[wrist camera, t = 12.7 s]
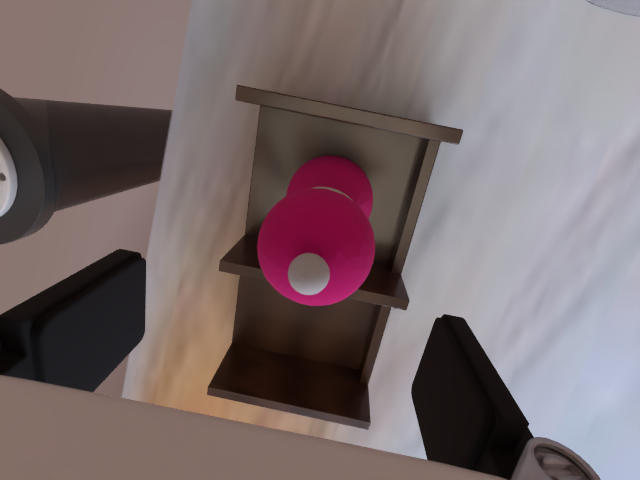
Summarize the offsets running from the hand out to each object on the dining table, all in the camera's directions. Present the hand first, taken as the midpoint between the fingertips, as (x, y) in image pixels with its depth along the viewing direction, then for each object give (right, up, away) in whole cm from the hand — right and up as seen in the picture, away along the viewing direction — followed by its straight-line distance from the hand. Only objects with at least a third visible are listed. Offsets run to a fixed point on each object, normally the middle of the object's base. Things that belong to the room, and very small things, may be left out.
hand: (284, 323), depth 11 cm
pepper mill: (+2, +7, +22) cm, 23 cm away
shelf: (+1, +2, +27) cm, 27 cm away
